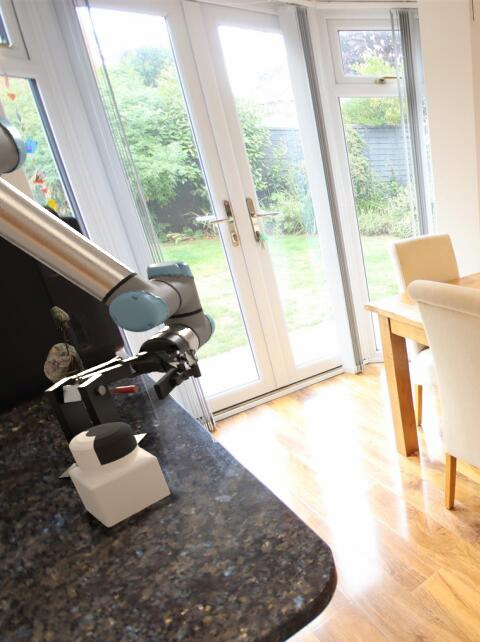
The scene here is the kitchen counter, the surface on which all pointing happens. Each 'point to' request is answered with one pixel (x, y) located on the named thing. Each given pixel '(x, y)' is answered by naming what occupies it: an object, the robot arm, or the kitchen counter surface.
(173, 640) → the kitchen counter surface
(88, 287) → the robot arm
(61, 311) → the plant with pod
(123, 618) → the kitchen counter surface
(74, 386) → the lever
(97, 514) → the medicine bottle
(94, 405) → the bracket
